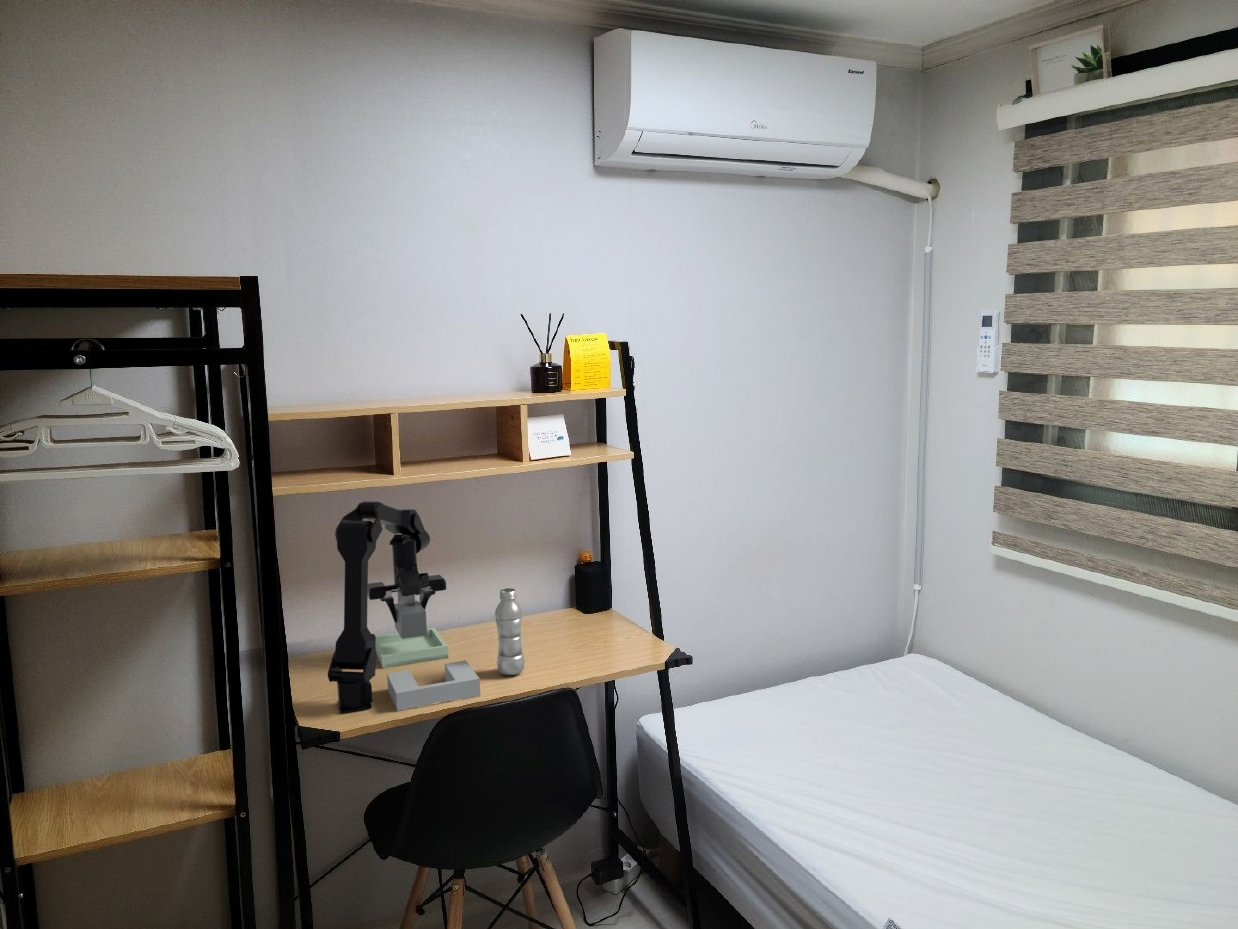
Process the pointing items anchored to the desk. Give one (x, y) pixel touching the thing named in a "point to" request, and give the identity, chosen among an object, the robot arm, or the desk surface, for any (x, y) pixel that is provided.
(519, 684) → the desk surface
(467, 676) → the bay housing
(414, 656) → the tray
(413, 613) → the grey block with handle
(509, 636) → the plastic bottle
